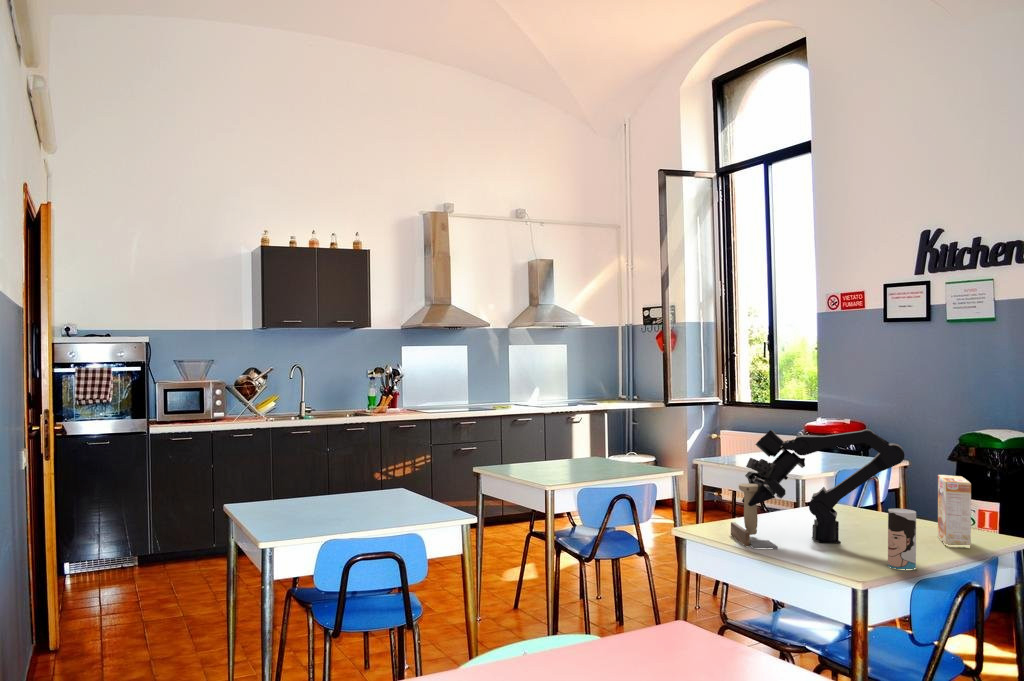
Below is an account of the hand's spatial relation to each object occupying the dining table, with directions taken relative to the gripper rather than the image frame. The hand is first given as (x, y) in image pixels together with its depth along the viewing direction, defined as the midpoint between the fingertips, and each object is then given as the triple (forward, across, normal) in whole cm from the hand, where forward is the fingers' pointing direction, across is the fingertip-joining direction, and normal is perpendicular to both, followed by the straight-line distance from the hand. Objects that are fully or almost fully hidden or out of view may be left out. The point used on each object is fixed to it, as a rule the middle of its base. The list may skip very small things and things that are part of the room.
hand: (745, 503), depth 252 cm
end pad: (+7, +11, +8) cm, 15 cm away
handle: (+5, -1, +8) cm, 10 cm away
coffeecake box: (-36, +8, +52) cm, 63 cm away
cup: (-13, +36, +28) cm, 47 cm away
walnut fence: (+10, +4, +5) cm, 12 cm away
